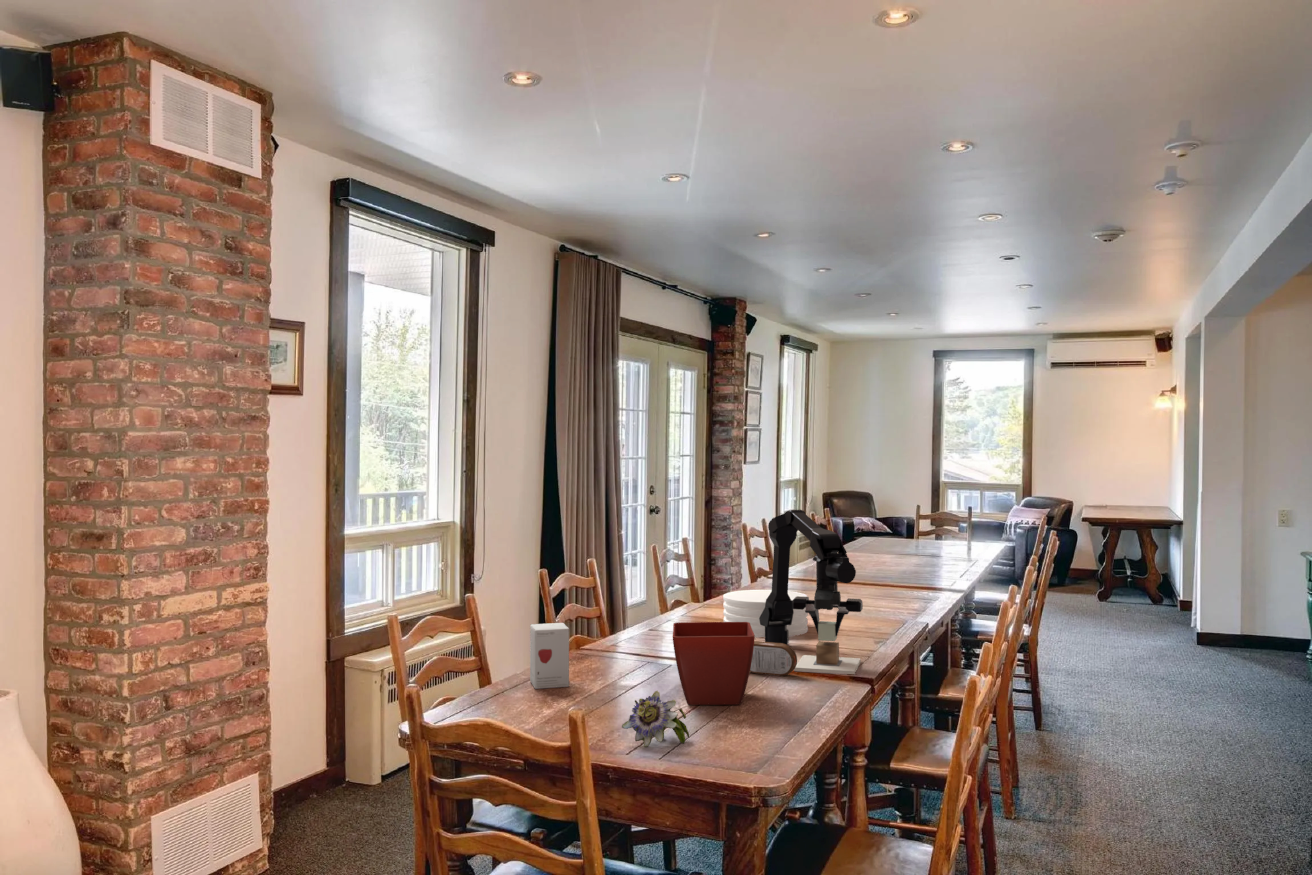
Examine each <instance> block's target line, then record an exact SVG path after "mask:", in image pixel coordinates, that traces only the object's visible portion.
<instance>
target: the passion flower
mask: <svg viewBox="0 0 1312 875" xmlns="http://www.w3.org/2000/svg"><path fill="white" fill-rule="evenodd" d="M638 701H639V702H638ZM638 701H637V700H636V699H635V700H634V704H635V705H633V708H631V712H632V714H630V715H629V718H628V720H627V721H625V722H624V723H622V725H621V728H622V729H626V730H627V729H631V728H632V729H633V730H634V731H635V736H634V737H635V738H634V740H635V742H641V741H643V742H642V743H643V744H642V745H643V748H648V747H649V746H650V745H651V742H652V740H653V738H655V739H656V741H657V742H659V743H662V742H663V741H664V739H665V730H666V729H672V731H673V732H674V733H675V735H676V737H677V739H678V740H679V742H680V744H685V743H686V735H687V738H690V734H689V733H690V732H689V730H688V728H687V725H686V724H685V722H684V721H682V720H680V719H678V716H679V714H678V712H677V711H679V712H680V713H681V714H682V718H683V720H684V719H686V718H687V715H686V714H685V712H684V711H683V708H681V707H679V708H678V709H675V710H671V709H672V708H674V706H676V704H677V703H676V702H677V701H676V699H672V700H671V699H670V700H667V701H662V700H661V694H660V691H658V690H655V691H654V692H653V693H652V695H649V696H648V697H645V698H639V700H638Z"/></svg>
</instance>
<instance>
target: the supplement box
mask: <svg viewBox="0 0 1312 875" xmlns="http://www.w3.org/2000/svg"><path fill="white" fill-rule="evenodd" d="M529 629H530V631H529V634H530V635H529V636H530V637H529V638H530V641H529V642H530V644H529V649H530V650H529V652H530V653H529V654H530V655H529V681H530V683H531V685H532V686H533V688H534V689H535V690H539V689H555V688H569V687H570V628H569V627H568V626H567V625H566V624H565V623H564V622H553V623H552V622H551V623H533V624H530V625H529Z"/></svg>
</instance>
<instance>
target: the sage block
mask: <svg viewBox="0 0 1312 875" xmlns="http://www.w3.org/2000/svg"><path fill="white" fill-rule="evenodd" d="M835 628H836V621H829V620H828V621H827V620H824V621H823V620H819V623H818V633H817V640H818V641H821V642H836V640H837V638H838V635H837V636H836V632H835Z"/></svg>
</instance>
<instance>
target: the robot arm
mask: <svg viewBox="0 0 1312 875" xmlns="http://www.w3.org/2000/svg"><path fill="white" fill-rule="evenodd" d="M767 526H768V527H767V528H768V537H769V538H770V540H771V542H772V545H773V556H772V558H773V560H772V561H773V562H772V579H771V590H772V592H771V593H770V595H769V596H768V598H767V599H766V603H765V608H764V610H763V612H762V614H761V616H760V617H759V620H760V625H762V626H765V638H764V642H772V643H783V644H786V645H788V644H789V641H790V640H789V638H790V637H789V630H788V629H787V625H791V624H792V618H793V614H794V611H793V609H801V610H803V609H804V608H806V610H805V612H806V613H808V615H809V616H810V618H811V620H812V621H813V624H814V627H815V630H816V633H817V634H818V623H819V622H820V614H819V613H820V612H819V610H826V611H832V610H833V608H834V609H835V608H836V609H837V611H836V621H835V622H836V628H835V632H836V636H837V637H838V634H839V631H840V628H841V624H842V622H843V619H844V617H845V616H846V615H848V614H849V613H851V612H852V613H853V612H854V613H861V612H862V611H863V603H864V602H863V600H862V599H861V598H847V599H846V600H845V601H844V600H842V599H841V592H840V591H839V590H838V588H839V587H838V583H843V584H849V583H851V582H853V581H854V580H855V578H856V575H857V570H856V568H855V566H854V564H852V563H851V562H850V558H849V557H848V554H847V553H848V552H847V550H846V548H845V546H844V544H843V540H842V539H841V537H840V536H839V534H838V533H836V532H835V531H833V530H830V529H825V528H823V527H821V526H820V525H819V524H818V523H816V521H814V520H813V519H812V518H811V517H809V515H807V514H806V512H805V510H803V509H789V510H786V511H785V512H784V513H782V514H779V515H777V516H775V517H772V518H771V519H770V520H769V522H768V525H767ZM798 532H800V533H801V534H802V535H803V536H804V537H805V538H806V539H807V540H808V541H809V547H810V548H811V550H812V551H813V552H814V554H815V555H814V556H813V558H812V561H814V562H816V563H815V565H816V567H815V568H816V573H815V574H816V576H815V579H816V582H815V585H816V589H815V593H814V598H813V599H810V597H809V596H807V597H800V596H797V597H795V598H794V599H793V600H791V599H790V597H789V595H788V591H789V577H790V576H789V575H790V558H791V547H792V545H793V544H794V542H795V541H796V539H797V534H798Z"/></svg>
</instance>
